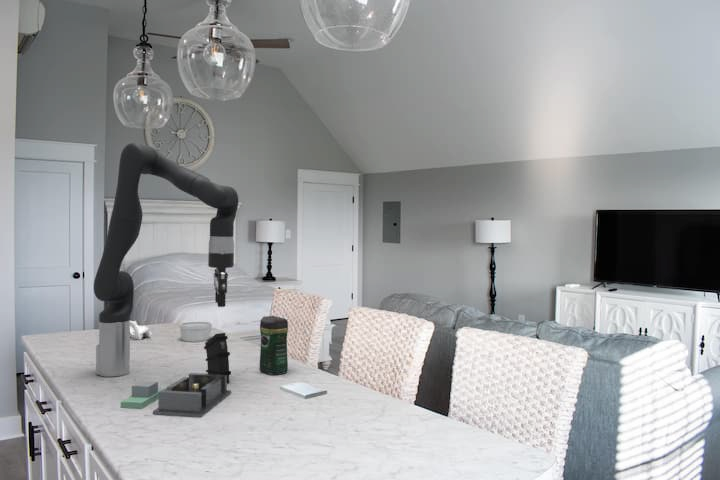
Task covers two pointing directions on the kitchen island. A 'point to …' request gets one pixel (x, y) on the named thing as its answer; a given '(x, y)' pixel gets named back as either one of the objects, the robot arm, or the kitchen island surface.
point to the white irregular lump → (139, 331)
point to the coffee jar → (273, 345)
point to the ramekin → (195, 331)
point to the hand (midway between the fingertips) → (220, 304)
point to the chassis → (193, 395)
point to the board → (140, 401)
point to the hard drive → (303, 390)
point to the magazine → (218, 355)
